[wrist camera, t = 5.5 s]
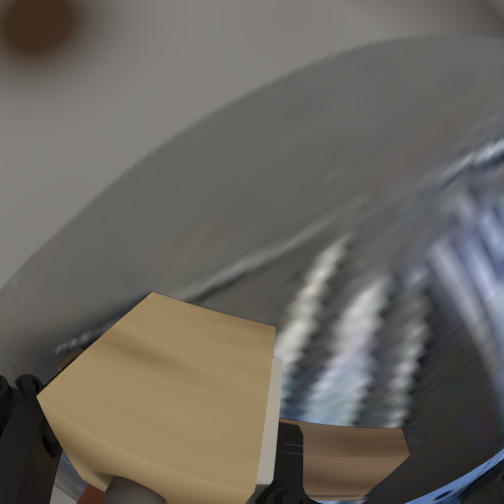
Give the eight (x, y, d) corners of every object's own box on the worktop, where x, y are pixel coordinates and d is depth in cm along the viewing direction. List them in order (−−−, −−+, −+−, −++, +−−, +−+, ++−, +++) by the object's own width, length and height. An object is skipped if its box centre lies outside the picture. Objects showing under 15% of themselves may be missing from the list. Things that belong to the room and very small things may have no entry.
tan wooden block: (229, 459, 15) (202, 559, 6) (151, 434, 16) (103, 523, 7) (275, 327, 12) (248, 525, 3) (152, 291, 12) (16, 416, 4)
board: (354, 476, 15) (357, 500, 12) (92, 409, 16) (77, 428, 14) (401, 428, 13) (410, 455, 10) (78, 346, 14) (55, 366, 12)
